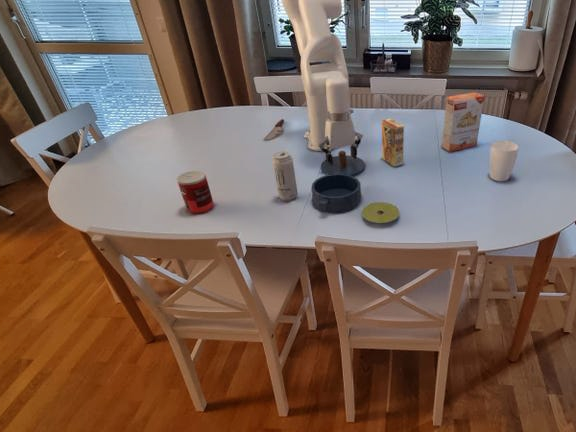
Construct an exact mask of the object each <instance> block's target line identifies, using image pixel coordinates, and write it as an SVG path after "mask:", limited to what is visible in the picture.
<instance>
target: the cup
mask: <svg viewBox="0 0 576 432" xmlns="http://www.w3.org/2000/svg"><path fill="white" fill-rule="evenodd" d="M518 152H519V145H518V144H517V143H515V142H513V141H510V140H495V141H493V142H492V143H491V146H490V150H489V177H490V179H491V180H494V181H496V182H507V181H508V180H509V179H510V176H511V174H512V171H513V168H514V166H515V163H516V160H517V158H518Z"/></svg>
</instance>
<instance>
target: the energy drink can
mask: <svg viewBox="0 0 576 432" xmlns="http://www.w3.org/2000/svg"><path fill="white" fill-rule="evenodd" d="M272 166H273V171H274V176H275V182H276V188H277V193H278V197H279V198H280V199H281V200H282V201H284V202H291V201H293V200H295V199H296V198H297V197H298V187H297V180H296V172H295V166H294V160H293V157H292V155H291V154H290V152H289V151H278V152H276V153H274V154H273V158H272Z"/></svg>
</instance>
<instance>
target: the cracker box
mask: <svg viewBox="0 0 576 432" xmlns="http://www.w3.org/2000/svg"><path fill="white" fill-rule="evenodd" d="M484 101H485V95H483V94H481V93H479V92H477V91H474V92H469V93H462V94H456V95H451V96H450V95H449V96H446V101H445V110H444V121H443V130H442V139H441V148H443V149H444V150H445V151H447V152H448V153H450V152H455V151H459V150H464V149H468V148H473V147H477V144H478V139H479V132H480V125H481V119H482V113H483V108H484Z"/></svg>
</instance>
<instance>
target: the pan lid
mask: <svg viewBox="0 0 576 432" xmlns="http://www.w3.org/2000/svg"><path fill="white" fill-rule="evenodd" d="M332 159H333V165H330V164H329V163H328V162H327V160H326V159H325V160H323V161H322V162H321V164H320V171H321V172H322V173H324V174H325V175H329V174H344V173H345V172H348V173H352V176H355V175H358V174H360V173H361V172H363V171H364V170H365V168H366V163H365V161H364V160H363V159H361V158H360V157H358V156H356V159H354V158H353V157H352V156H351V155H347V153H346V151H345V150H340V151H338V155H335V156H332Z"/></svg>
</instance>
